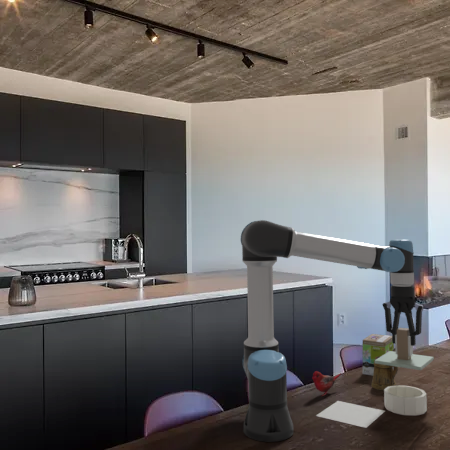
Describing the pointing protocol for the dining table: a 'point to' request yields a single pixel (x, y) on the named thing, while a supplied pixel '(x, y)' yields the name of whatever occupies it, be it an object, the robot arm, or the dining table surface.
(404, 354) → the lid
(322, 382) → the decorative bird figurine
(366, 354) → the tea box
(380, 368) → the wooden mug
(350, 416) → the mat
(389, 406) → the bowl
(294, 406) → the dining table surface
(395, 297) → the robot arm
